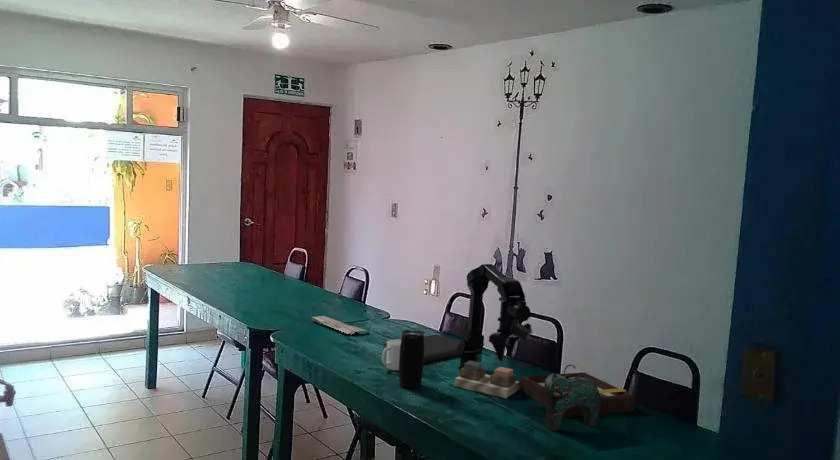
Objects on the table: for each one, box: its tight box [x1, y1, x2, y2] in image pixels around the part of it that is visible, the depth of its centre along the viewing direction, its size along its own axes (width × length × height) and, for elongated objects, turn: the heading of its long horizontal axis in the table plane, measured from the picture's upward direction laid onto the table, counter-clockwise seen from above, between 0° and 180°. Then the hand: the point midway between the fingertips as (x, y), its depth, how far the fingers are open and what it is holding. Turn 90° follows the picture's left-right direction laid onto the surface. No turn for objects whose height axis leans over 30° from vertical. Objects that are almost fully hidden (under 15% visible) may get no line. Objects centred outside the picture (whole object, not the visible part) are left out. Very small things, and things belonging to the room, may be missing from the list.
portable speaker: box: [398, 329, 425, 390], centre depth 231 cm, size 9×9×20 cm
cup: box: [381, 339, 401, 372], centre depth 251 cm, size 8×12×10 cm
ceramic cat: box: [544, 364, 601, 433], centre depth 200 cm, size 20×6×20 cm, turn 114°
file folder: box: [382, 334, 461, 365], centre depth 279 cm, size 33×4×24 cm
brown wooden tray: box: [519, 372, 636, 418], centre depth 227 cm, size 28×7×30 cm
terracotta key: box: [493, 366, 514, 379], centre depth 231 cm, size 5×5×3 cm
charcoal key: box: [464, 361, 483, 372], centre depth 237 cm, size 5×5×3 cm
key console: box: [454, 367, 520, 399], centre depth 234 cm, size 20×12×6 cm, turn 60°
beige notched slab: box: [311, 315, 370, 336], centre depth 314 cm, size 35×12×4 cm, turn 42°
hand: (505, 358), depth 230 cm, fingers open, 8 cm apart
